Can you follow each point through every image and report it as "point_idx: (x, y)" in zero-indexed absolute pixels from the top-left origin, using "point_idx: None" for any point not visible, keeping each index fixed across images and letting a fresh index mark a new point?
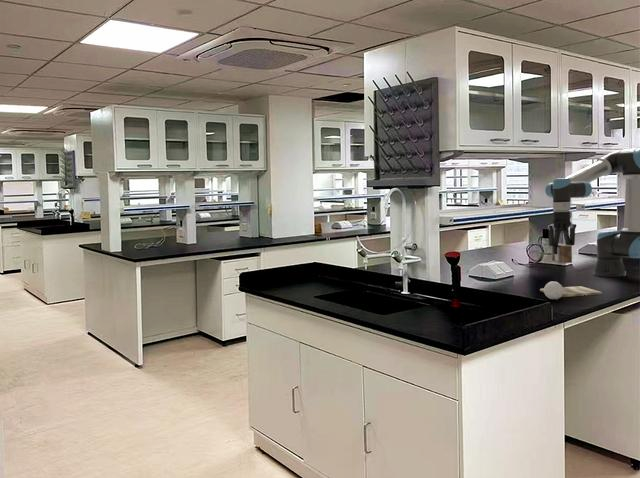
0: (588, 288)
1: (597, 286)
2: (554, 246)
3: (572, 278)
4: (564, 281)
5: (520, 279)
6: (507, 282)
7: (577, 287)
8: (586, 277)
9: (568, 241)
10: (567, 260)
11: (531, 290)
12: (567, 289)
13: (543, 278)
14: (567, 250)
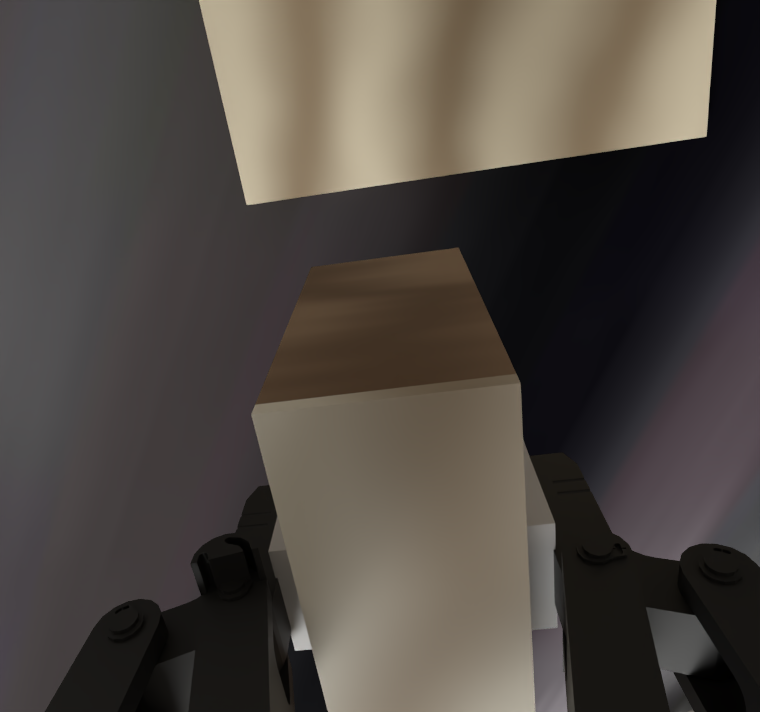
0: (213, 43)
1: (67, 268)
2: (638, 562)
3: None
4: None
5: (558, 662)
6: None
7: (304, 131)
8: (56, 647)
9: (246, 679)
10: (387, 268)
11: (756, 180)
12: (455, 24)
13: None
14: (387, 339)
